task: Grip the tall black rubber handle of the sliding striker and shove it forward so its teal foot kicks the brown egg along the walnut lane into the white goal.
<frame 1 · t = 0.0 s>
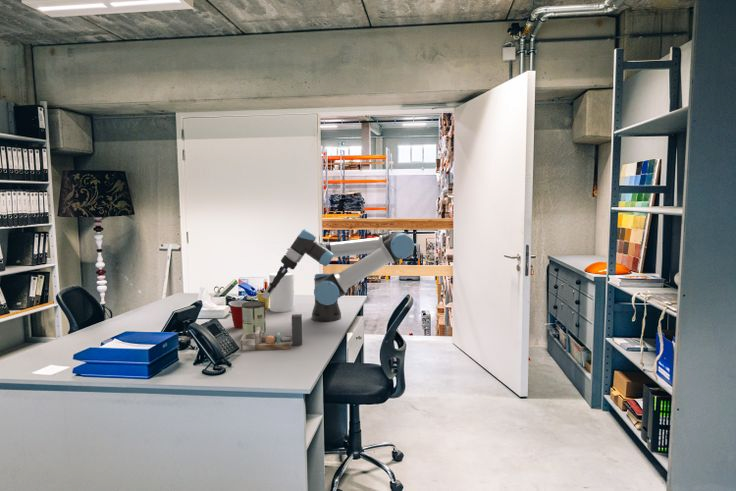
hand: (265, 295, 226), 15 cm above the table, tool tilted 35°, fingers open, 13 cm apart
canister: (282, 309, 264), on the table
plastic cup: (241, 327, 227), on the table
brown egg: (270, 340, 198), point 2 cm above the table
striker: (289, 329, 198), point 6 cm above the table, slide at 0.0 cm
lane: (270, 345, 198), on the table
coffee can: (254, 334, 215), on the table
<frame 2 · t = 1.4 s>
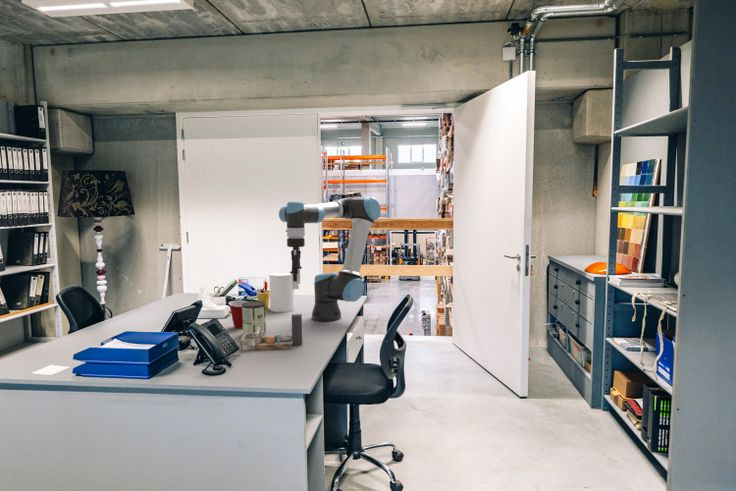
hand: (296, 286, 207), 23 cm above the table, tool pointing down, fingers open, 13 cm apart
nothing on the table moved.
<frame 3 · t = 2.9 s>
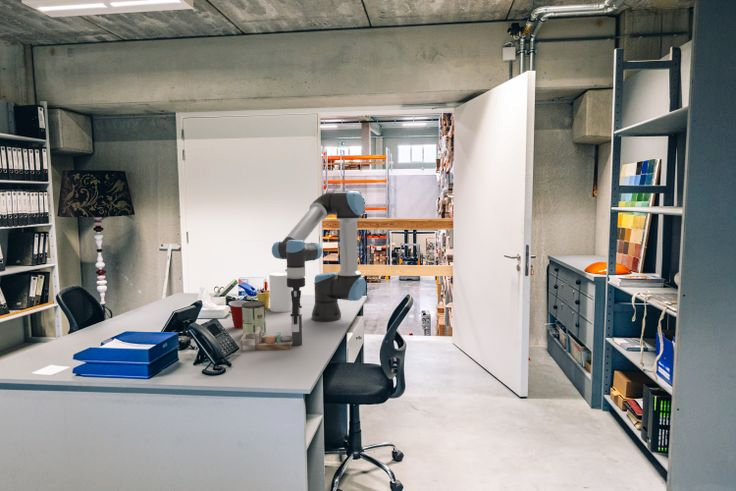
hand: (296, 327, 198), 7 cm above the table, tool pointing down, fingers open, 13 cm apart
nothing on the table moved.
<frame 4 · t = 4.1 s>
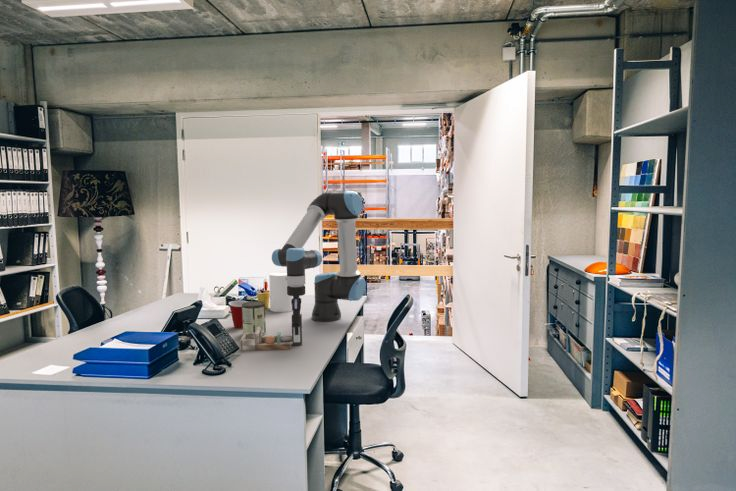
hand: (297, 340, 199), 2 cm above the table, tool pointing down, fingers closed on striker, 3 cm apart
striker: (289, 329, 198), point 6 cm above the table, slide at 0.0 cm, touching gripper
everything else where it was.
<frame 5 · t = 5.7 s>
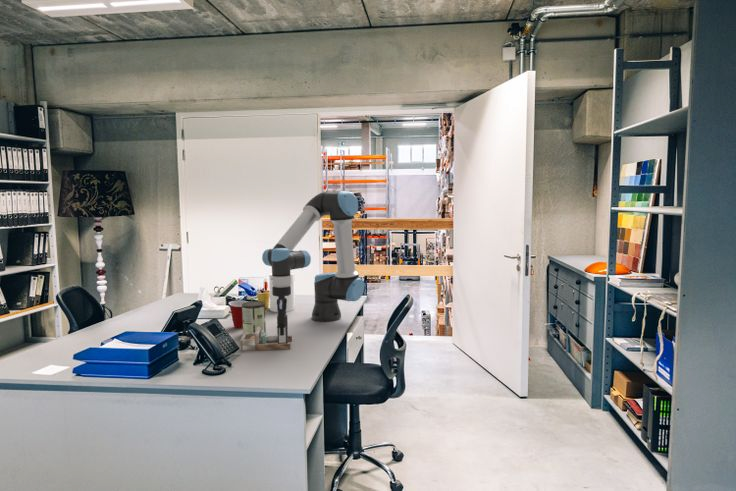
hand: (282, 340, 198), 2 cm above the table, tool pointing down, fingers closed on striker, 3 cm apart
brown egg: (253, 341, 197), point 2 cm above the table, tilted 175°
striker: (275, 330, 197), point 6 cm above the table, slide at 5.9 cm, touching gripper
everything else where it was.
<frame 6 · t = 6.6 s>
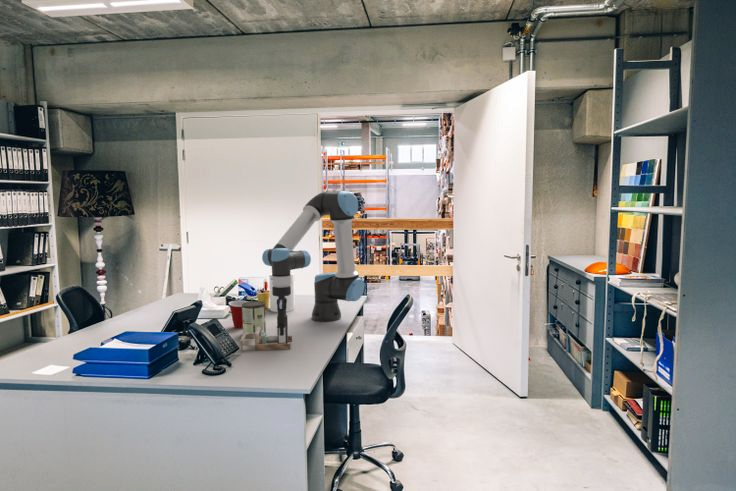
hand: (282, 340, 198), 2 cm above the table, tool pointing down, fingers open, 4 cm apart
brown egg: (257, 340, 197), point 2 cm above the table, tilted 140°
striker: (275, 330, 197), point 6 cm above the table, slide at 5.9 cm
everything else where it was.
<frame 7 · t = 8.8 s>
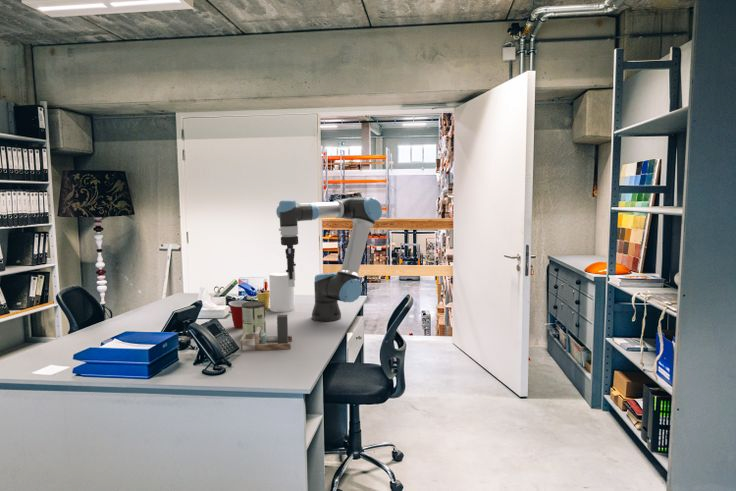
hand: (291, 283, 209), 24 cm above the table, tool pointing down, fingers open, 13 cm apart
brown egg: (256, 340, 197), point 2 cm above the table, tilted 160°
everything else where it was.
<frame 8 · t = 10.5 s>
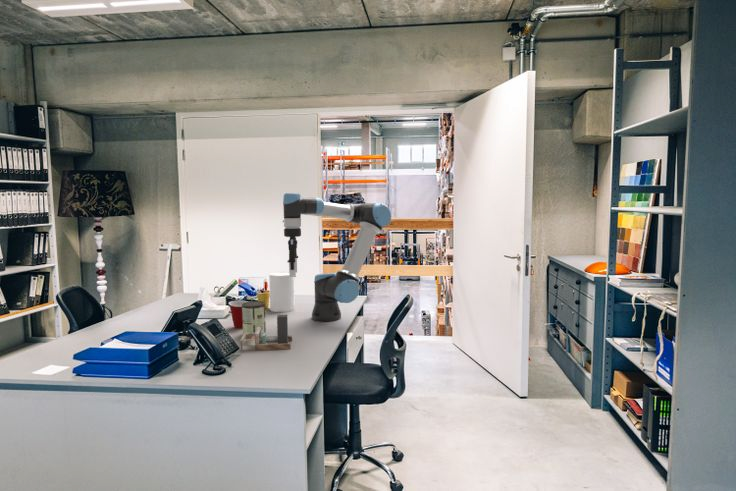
hand: (293, 274, 214), 27 cm above the table, tool pointing down, fingers open, 13 cm apart
brown egg: (254, 341, 197), point 2 cm above the table, tilted 176°
everything else where it was.
at the end: brown egg inside the target area (2.1 cm from its centre), point 2.0 cm above the table; striker slide at 5.9 cm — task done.
